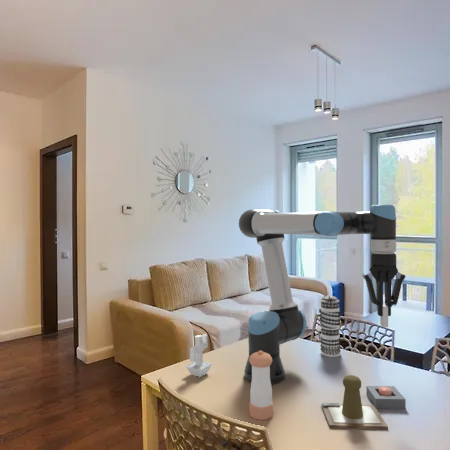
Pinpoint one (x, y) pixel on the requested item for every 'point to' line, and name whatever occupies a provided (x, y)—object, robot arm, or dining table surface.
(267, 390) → the pepper shaker
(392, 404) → the button housing
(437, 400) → the dining table surface
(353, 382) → the pepper shaker
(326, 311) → the decorative candle
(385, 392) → the button
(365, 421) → the clipboard
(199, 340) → the figurine
